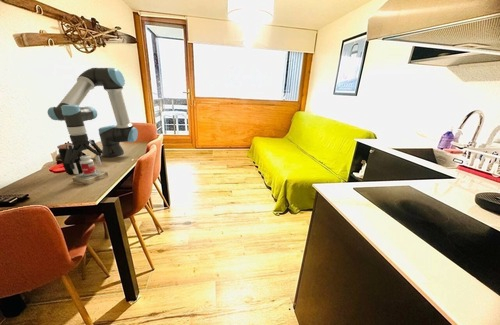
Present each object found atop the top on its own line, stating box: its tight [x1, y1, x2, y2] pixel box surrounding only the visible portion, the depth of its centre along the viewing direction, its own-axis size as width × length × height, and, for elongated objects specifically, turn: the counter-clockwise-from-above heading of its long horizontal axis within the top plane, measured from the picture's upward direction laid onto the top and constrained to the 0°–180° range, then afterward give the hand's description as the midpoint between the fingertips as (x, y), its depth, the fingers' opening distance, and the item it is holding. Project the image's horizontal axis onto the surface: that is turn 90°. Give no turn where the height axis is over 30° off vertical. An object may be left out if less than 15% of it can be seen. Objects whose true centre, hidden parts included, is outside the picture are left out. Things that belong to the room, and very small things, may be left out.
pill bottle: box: [80, 154, 96, 176], centre depth 117 cm, size 6×6×11 cm
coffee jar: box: [57, 142, 84, 176], centre depth 127 cm, size 11×11×18 cm
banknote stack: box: [71, 170, 109, 186], centre depth 119 cm, size 12×12×3 cm
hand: (88, 169), depth 118 cm, fingers open, 13 cm apart
